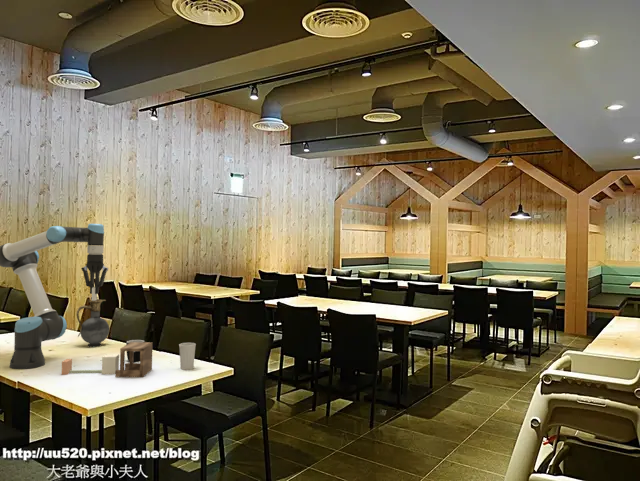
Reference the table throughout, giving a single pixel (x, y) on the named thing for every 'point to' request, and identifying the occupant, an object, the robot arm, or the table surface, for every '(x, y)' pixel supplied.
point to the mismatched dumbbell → (108, 367)
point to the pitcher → (93, 325)
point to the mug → (136, 353)
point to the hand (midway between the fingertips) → (94, 300)
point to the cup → (187, 355)
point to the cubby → (135, 368)
